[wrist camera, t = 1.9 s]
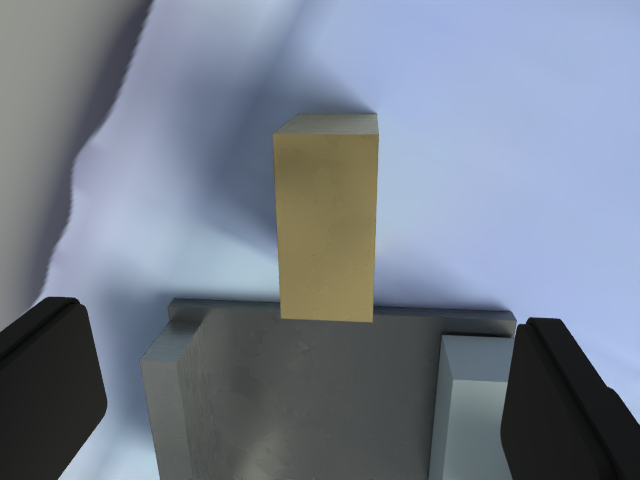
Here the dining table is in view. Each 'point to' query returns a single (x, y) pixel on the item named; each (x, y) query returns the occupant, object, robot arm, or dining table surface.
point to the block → (326, 215)
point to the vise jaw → (470, 409)
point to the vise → (299, 391)
